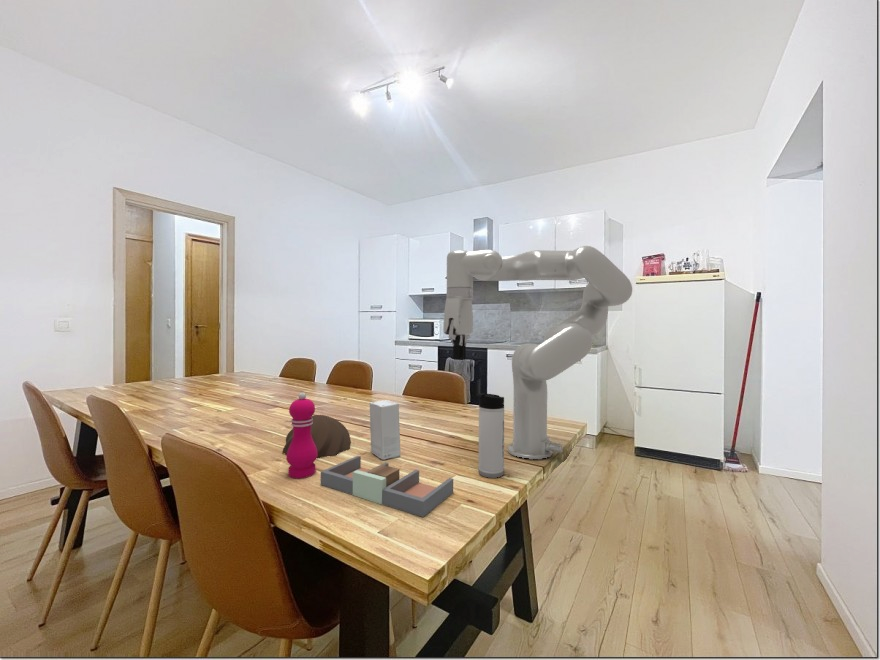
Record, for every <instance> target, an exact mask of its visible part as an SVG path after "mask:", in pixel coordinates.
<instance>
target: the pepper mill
mask: <svg viewBox="0 0 880 660" xmlns="http://www.w3.org/2000/svg"><path fill="white" fill-rule="evenodd" d="M297 396H298V399H295V400H294V401H292V403H290V405H289V408H288V413H289V416H290V417H291V418H292V419H291V424H290V425H291V426H292V429H293V430H294V432H293V439H292V442H291V444H290V446H289V448H288V451H287V454H286V457H285V459H286V462H287V464H289V465H290V466H289V467H288V468H287V469H288V471H287V472H288V477H289V478H291V479H304V477H305V478H309V477H311V476H313V475H315V474H316V463H314V462H316V461H317V459H318V458H317V456H318V454H317V448H316V445H315V443H314V441H313V439H312V436H311V425H312V424H313V422H312V421H313V418H312V416H314V415H315V412H316V406H315V403H314V401H312V400H311V399H308V398H307V395H306V392H300V393H299V394H298V395H297ZM316 458H317V459H316ZM308 476H309V477H308Z"/></svg>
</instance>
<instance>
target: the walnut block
mask: <svg viewBox="0 0 880 660" xmlns="http://www.w3.org/2000/svg"><path fill="white" fill-rule="evenodd" d="M379 465H380V466H379ZM379 465H377V466H378V467H377V466H375V467H376V468H375V467H373V468H374V469H373V468H372V470H371V469H370V471H368V473H371V474H374V475H378V476H382V477H385V478H386V487H388V486H389V485H391V484H393V483H394V482H396V481H398V480H399V479H400V468H398V467H393V466H389V465H388V466H386V465H381V464H379Z"/></svg>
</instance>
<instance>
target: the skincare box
mask: <svg viewBox="0 0 880 660" xmlns="http://www.w3.org/2000/svg"><path fill="white" fill-rule="evenodd" d="M369 422H370V424H369V425H370V427H369V429H370V453H371V454H373V455H375V456H376V457H377V458H379V459H381V460H383V461H384V460H389V459H394V458H395V459H396V458H400V457H401V432H400V427H401V426H400V404H399V403H398V402H394V401H392V400H391V401H390V400H388V399H384V400H377V401H372V402H371V401H370V402H369Z"/></svg>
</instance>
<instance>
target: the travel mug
mask: <svg viewBox="0 0 880 660" xmlns="http://www.w3.org/2000/svg"><path fill="white" fill-rule="evenodd" d="M477 396H478V469H477V470H478V474H479V475H480V476H481V477H484V478H487V477H488V479H497V477H498V478H501V477H503V476H504V474H505V397H504V396H500V395H499V394H493V393H481V392H480V393H478V395H477ZM502 475H503V476H502ZM500 476H501V477H500Z"/></svg>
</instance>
